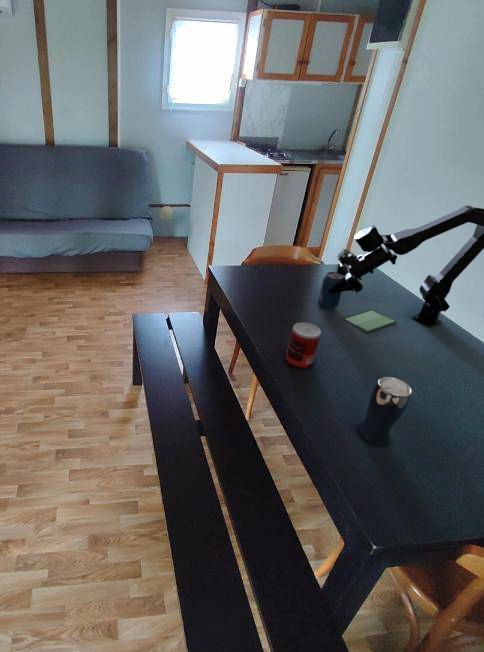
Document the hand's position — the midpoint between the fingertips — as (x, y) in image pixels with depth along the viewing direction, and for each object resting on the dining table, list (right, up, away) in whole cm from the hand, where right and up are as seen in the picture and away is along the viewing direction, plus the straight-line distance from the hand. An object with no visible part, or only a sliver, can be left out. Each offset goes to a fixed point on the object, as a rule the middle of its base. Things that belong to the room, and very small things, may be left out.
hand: (327, 287), depth 144 cm
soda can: (+1, -6, +4) cm, 7 cm away
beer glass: (-11, -41, -48) cm, 64 cm away
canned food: (-19, -25, -23) cm, 39 cm away
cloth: (+13, -12, -3) cm, 18 cm away
